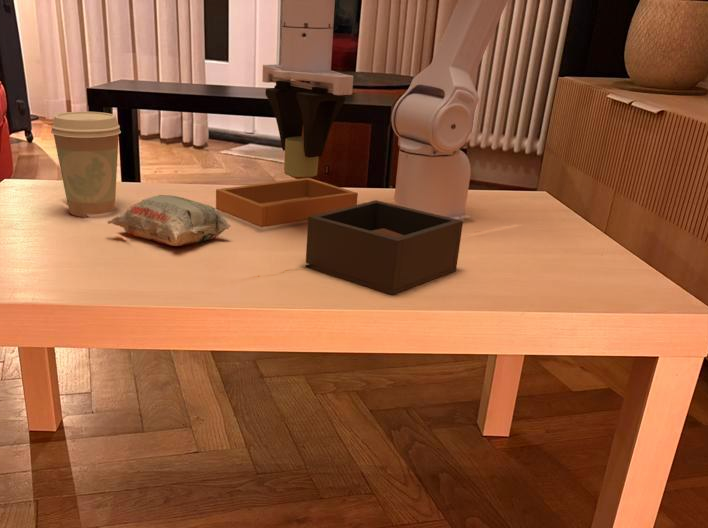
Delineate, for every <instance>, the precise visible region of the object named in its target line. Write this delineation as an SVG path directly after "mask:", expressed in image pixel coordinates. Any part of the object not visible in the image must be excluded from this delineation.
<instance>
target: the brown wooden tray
mask: <svg viewBox="0 0 708 528" xmlns="http://www.w3.org/2000/svg"><path fill="white" fill-rule="evenodd" d="M358 195H359V194H358V192H356V191H353V190H350V189H347V188H344V187H340V186H338V185H337V186H336V185H333V184H331V183H327V182H323V181H320V180H319V179H318V180H317V179H314V178H311V177H302V178H296V179H288V180H279V181H271V182H263V183H256V184H247V185H240V186H232V187H224V188H216V189H215V210H217V211H220V212H223V213H226V214H227V215H231V216H233V217H235V218H237V219H240V220H243V221H245V222H247V223H249V224H252V225H254V226H257V227H258V228H259V227H260V228H264V227H265V228H266V227H271V226H277V225H278V226H279V225H283V224H290V223H296V222H303V221H308V216H312V215H317V214H321V213H325V212H329V211H334V210H338V209H342V208H346V207H350V206H354V205H358V197H359V196H358Z"/></svg>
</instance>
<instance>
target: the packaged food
mask: <svg viewBox="0 0 708 528" xmlns="http://www.w3.org/2000/svg"><path fill="white" fill-rule="evenodd" d="M107 224H112V225H115V226H119V227H120V228H123V231H125V232H126V233H127V234H130V235H131V236H134V237H137V238H140V239H145V240H149V241H152V242H156V243H157V244H160V245H163V246H169V247H182V246H187V245H193V244H197V243H202V242H205V241H209V240H212V239H214V238H216V237H218V236H219V235H221V234H222V233H223V232H224V231H226V230H229V229H230V228H231V225H230V224H229V222H228V221H227V220H226V218H225V217H223V215H222V214H221V213H220V212H219V210H217V209H216V208H215V207H213V206H211V205H208V204H205V203H202V202H198V201H195V200H193V199H192V200H191V199H189V198H184V197H180V196H177V195H170V194H169V195H168V194H167V195H165V194H158V195H155V196H151V197H148V198H147V197H146V198H145V199H142V200H141V201H138V202H137V203H134V204H133V205H131V206H129V207H128V208H126V211H124V212H123V213H121V212H120V213H118V215H116V216H115V217H113V218H111V219H109V220H108V221H107Z"/></svg>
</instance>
